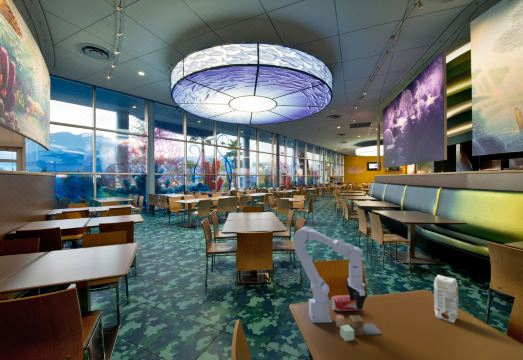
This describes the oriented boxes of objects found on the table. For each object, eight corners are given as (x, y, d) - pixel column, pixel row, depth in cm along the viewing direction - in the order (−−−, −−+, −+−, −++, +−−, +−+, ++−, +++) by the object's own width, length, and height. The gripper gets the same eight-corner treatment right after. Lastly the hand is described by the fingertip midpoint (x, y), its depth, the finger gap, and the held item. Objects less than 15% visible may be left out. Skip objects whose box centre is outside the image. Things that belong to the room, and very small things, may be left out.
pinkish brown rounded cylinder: (337, 327, 107) (337, 318, 107) (334, 323, 110) (334, 314, 110) (345, 327, 107) (345, 318, 107) (342, 323, 110) (342, 314, 110)
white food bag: (456, 324, 108) (455, 283, 109) (433, 316, 115) (432, 277, 115) (459, 318, 113) (458, 278, 114) (437, 311, 120) (436, 273, 120)
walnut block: (353, 335, 101) (353, 321, 101) (349, 329, 106) (349, 315, 106) (363, 335, 101) (363, 321, 101) (359, 328, 106) (359, 315, 106)
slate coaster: (365, 334, 102) (365, 333, 102) (358, 325, 109) (358, 323, 109) (381, 334, 102) (381, 333, 102) (373, 324, 109) (373, 323, 109)
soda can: (353, 293, 127) (329, 294, 126) (359, 296, 120) (334, 296, 119) (355, 308, 124) (331, 309, 124) (361, 311, 118) (335, 312, 117)
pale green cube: (345, 341, 97) (345, 331, 98) (340, 335, 101) (340, 326, 101) (354, 339, 99) (354, 330, 99) (348, 333, 102) (348, 324, 102)
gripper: (371, 280, 101) (372, 313, 100) (357, 268, 115) (358, 296, 115) (355, 280, 101) (355, 313, 100) (343, 268, 115) (343, 296, 115)
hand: (355, 304), depth 108 cm, fingers open, 7 cm apart
